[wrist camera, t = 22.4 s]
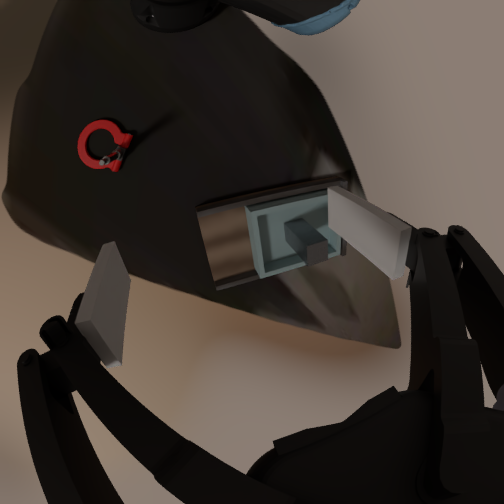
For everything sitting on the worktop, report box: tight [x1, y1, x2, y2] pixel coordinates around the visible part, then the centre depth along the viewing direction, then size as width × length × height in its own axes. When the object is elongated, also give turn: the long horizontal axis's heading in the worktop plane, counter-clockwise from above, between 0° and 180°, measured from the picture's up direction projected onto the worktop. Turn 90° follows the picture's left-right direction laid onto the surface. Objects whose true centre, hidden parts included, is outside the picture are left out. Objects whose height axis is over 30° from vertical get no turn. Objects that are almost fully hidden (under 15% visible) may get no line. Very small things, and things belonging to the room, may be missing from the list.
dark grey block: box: [284, 218, 328, 266], centre depth 49 cm, size 4×4×10 cm
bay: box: [195, 176, 348, 291], centre depth 53 cm, size 17×29×4 cm, turn 99°
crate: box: [245, 188, 341, 278], centre depth 53 cm, size 14×18×4 cm
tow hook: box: [78, 120, 133, 172], centre depth 32 cm, size 8×13×9 cm
